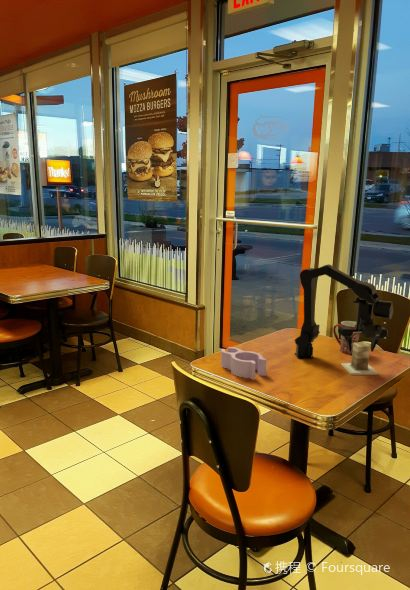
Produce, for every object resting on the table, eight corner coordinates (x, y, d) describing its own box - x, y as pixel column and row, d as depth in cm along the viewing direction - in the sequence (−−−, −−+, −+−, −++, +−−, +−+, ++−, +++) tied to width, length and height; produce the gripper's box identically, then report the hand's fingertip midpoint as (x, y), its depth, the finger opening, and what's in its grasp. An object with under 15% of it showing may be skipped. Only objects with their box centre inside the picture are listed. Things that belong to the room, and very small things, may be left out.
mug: (362, 351, 210) (364, 323, 207) (353, 356, 203) (356, 327, 200) (336, 345, 218) (339, 318, 215) (327, 349, 211) (330, 321, 209)
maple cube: (356, 358, 183) (357, 346, 182) (352, 354, 188) (353, 342, 187) (368, 358, 183) (369, 346, 182) (363, 354, 188) (365, 342, 187)
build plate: (351, 374, 181) (351, 372, 181) (341, 364, 192) (341, 362, 192) (377, 374, 182) (377, 372, 182) (366, 364, 193) (366, 362, 192)
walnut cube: (355, 369, 184) (356, 358, 183) (351, 365, 189) (352, 354, 188) (367, 369, 184) (368, 358, 183) (362, 365, 189) (363, 354, 188)
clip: (213, 367, 187) (214, 351, 185) (235, 360, 195) (235, 345, 193) (249, 382, 172) (249, 365, 171) (270, 374, 180) (271, 357, 179)
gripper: (349, 319, 173) (346, 358, 177) (396, 320, 175) (391, 358, 178) (339, 312, 184) (336, 348, 188) (383, 312, 186) (379, 348, 189)
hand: (360, 351), depth 185 cm, fingers open, 9 cm apart
